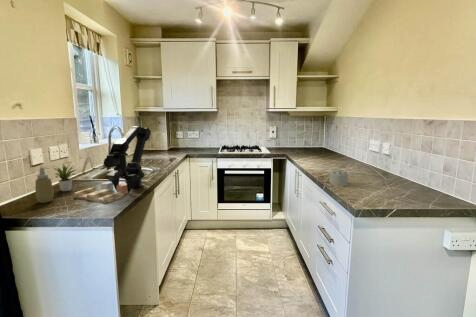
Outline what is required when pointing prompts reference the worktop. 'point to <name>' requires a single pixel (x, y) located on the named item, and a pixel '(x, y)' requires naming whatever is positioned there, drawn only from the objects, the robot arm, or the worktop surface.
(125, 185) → the terracotta block
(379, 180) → the worktop surface
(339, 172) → the lumpy-topped squat cylinder
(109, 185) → the blue-grey block
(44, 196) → the squeeze bottle
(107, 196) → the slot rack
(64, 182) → the house plant
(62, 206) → the worktop surface
